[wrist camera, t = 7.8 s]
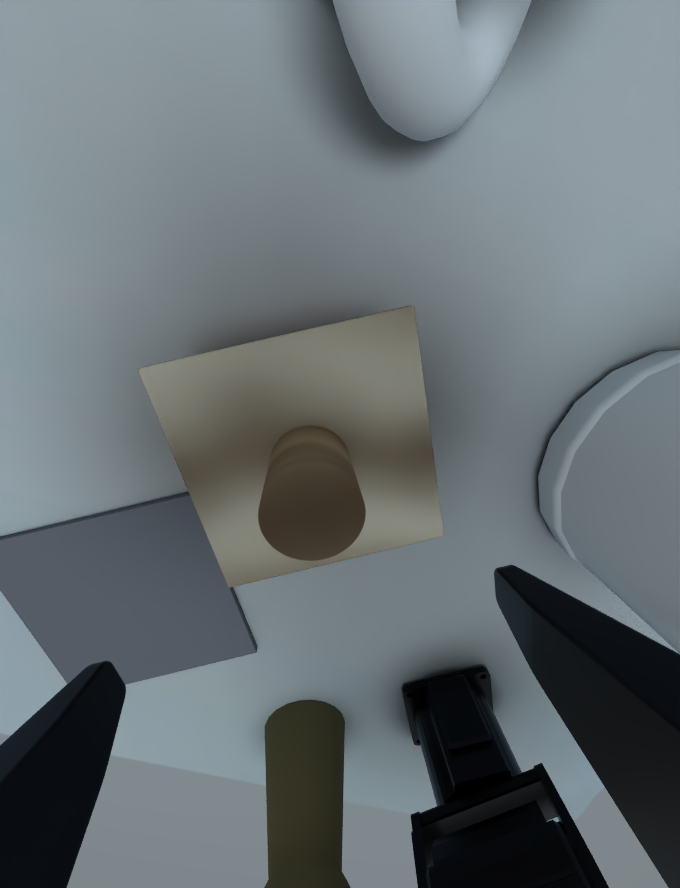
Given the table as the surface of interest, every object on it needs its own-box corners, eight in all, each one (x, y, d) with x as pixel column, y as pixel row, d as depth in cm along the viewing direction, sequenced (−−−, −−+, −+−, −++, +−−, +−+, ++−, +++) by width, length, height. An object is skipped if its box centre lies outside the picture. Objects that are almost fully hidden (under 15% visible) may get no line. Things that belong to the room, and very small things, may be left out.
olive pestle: (249, 719, 26) (214, 982, 16) (325, 689, 26) (339, 938, 16) (286, 763, 28) (276, 1020, 18) (356, 736, 28) (387, 982, 18)
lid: (437, 526, 17) (485, 603, 13) (232, 575, 17) (205, 670, 12) (408, 305, 13) (460, 302, 9) (146, 366, 13) (66, 393, 9)
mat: (257, 647, 24) (256, 652, 23) (80, 690, 24) (76, 696, 23) (192, 491, 20) (190, 494, 19) (-24, 542, 19) (-31, 547, 19)
